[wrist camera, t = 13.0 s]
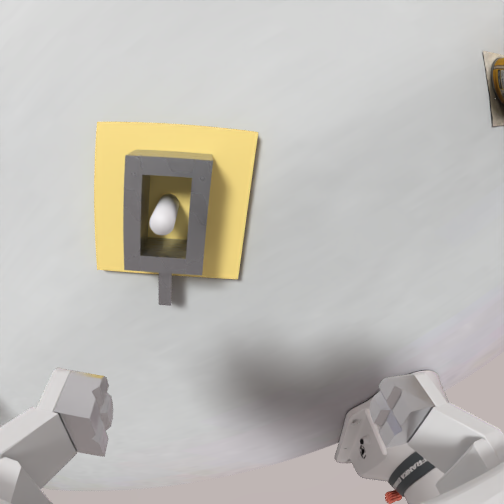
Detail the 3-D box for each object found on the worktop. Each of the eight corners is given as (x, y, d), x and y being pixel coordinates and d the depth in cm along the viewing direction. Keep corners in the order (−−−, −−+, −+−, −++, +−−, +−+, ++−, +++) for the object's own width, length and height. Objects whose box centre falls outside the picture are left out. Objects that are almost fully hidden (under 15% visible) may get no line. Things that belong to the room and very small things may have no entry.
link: (198, 297, 27) (199, 321, 24) (134, 293, 26) (127, 316, 23) (211, 154, 23) (213, 160, 20) (136, 149, 22) (125, 155, 19)
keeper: (236, 273, 28) (244, 309, 23) (100, 264, 26) (81, 297, 21) (256, 131, 23) (270, 136, 18) (101, 121, 21) (74, 125, 16)
